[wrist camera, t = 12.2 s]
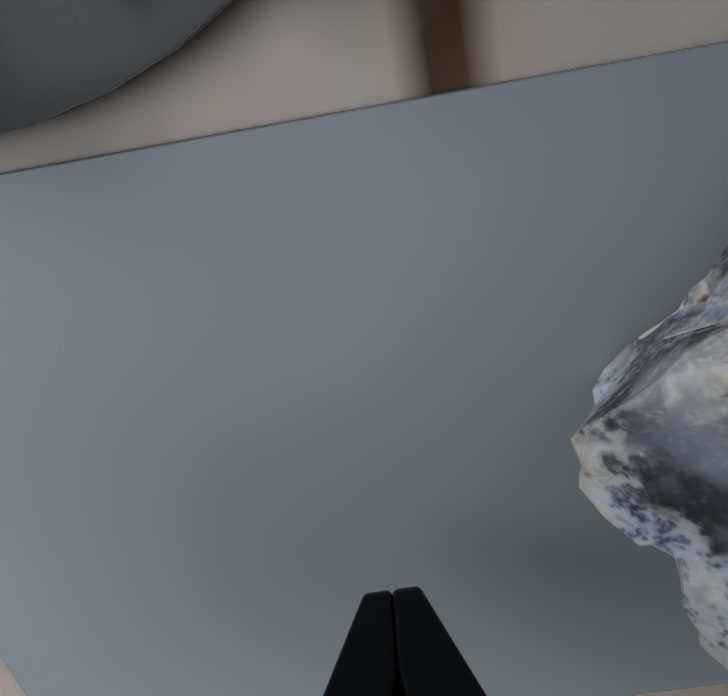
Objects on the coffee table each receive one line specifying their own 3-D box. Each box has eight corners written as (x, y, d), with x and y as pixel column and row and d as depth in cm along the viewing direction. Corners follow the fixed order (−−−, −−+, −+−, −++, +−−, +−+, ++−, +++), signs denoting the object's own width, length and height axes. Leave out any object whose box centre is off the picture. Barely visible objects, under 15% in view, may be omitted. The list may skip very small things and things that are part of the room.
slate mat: (1057, 631, 13) (1067, 639, 13) (77, 757, 15) (74, 765, 14) (1437, -89, 7) (1462, -91, 7) (-277, 223, 9) (-289, 228, 8)
